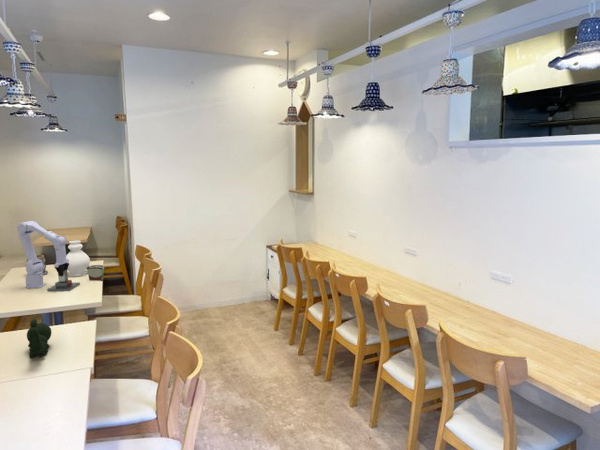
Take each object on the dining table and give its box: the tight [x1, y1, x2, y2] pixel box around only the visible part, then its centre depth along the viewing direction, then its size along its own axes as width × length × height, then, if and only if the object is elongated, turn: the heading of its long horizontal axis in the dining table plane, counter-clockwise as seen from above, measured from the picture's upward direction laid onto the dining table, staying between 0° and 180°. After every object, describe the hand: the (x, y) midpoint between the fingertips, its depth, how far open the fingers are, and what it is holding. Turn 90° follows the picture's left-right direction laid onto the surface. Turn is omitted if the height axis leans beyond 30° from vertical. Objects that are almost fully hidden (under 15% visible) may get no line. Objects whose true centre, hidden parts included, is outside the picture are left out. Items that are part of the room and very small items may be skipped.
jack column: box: [57, 270, 69, 282], centre depth 272 cm, size 4×4×7 cm
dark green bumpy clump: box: [26, 318, 52, 360], centre depth 181 cm, size 9×19×25 cm
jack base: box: [46, 279, 81, 292], centre depth 273 cm, size 14×14×5 cm
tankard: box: [26, 254, 49, 277], centre depth 301 cm, size 20×13×15 cm, turn 25°
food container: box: [85, 264, 105, 282], centre depth 292 cm, size 12×6×10 cm, turn 84°
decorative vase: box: [66, 239, 91, 277], centre depth 304 cm, size 18×18×25 cm
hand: (62, 275), depth 272 cm, fingers closed on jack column, 4 cm apart
